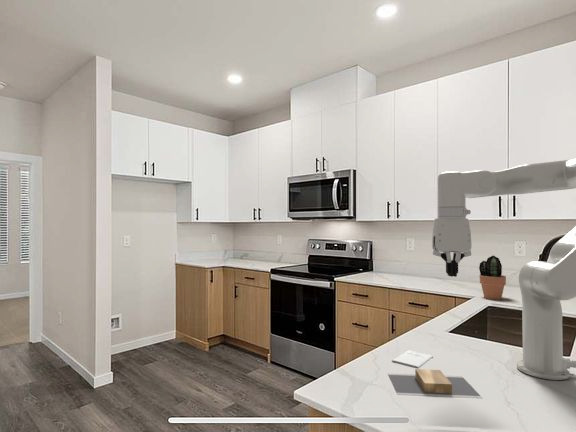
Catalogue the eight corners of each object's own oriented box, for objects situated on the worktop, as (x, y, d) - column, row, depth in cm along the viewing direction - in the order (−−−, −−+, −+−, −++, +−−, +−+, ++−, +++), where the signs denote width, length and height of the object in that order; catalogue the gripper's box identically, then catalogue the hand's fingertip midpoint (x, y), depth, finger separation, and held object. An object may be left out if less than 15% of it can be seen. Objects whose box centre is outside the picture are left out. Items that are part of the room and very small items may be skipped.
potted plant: (504, 297, 219) (504, 254, 220) (507, 301, 207) (507, 256, 208) (478, 295, 225) (478, 253, 226) (480, 299, 212) (480, 255, 213)
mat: (461, 378, 102) (461, 376, 102) (482, 400, 89) (482, 398, 89) (387, 375, 103) (387, 373, 103) (397, 396, 90) (397, 394, 90)
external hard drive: (391, 365, 112) (407, 354, 122) (418, 372, 107) (433, 360, 117) (391, 359, 112) (407, 349, 122) (418, 366, 107) (433, 355, 117)
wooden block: (415, 377, 101) (440, 378, 100) (424, 392, 92) (451, 393, 91) (415, 369, 101) (440, 370, 100) (424, 383, 92) (451, 384, 91)
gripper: (472, 214, 113) (473, 274, 112) (422, 214, 114) (422, 274, 114) (483, 213, 105) (484, 278, 105) (429, 213, 107) (429, 277, 106)
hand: (452, 275), depth 109 cm, fingers closed
